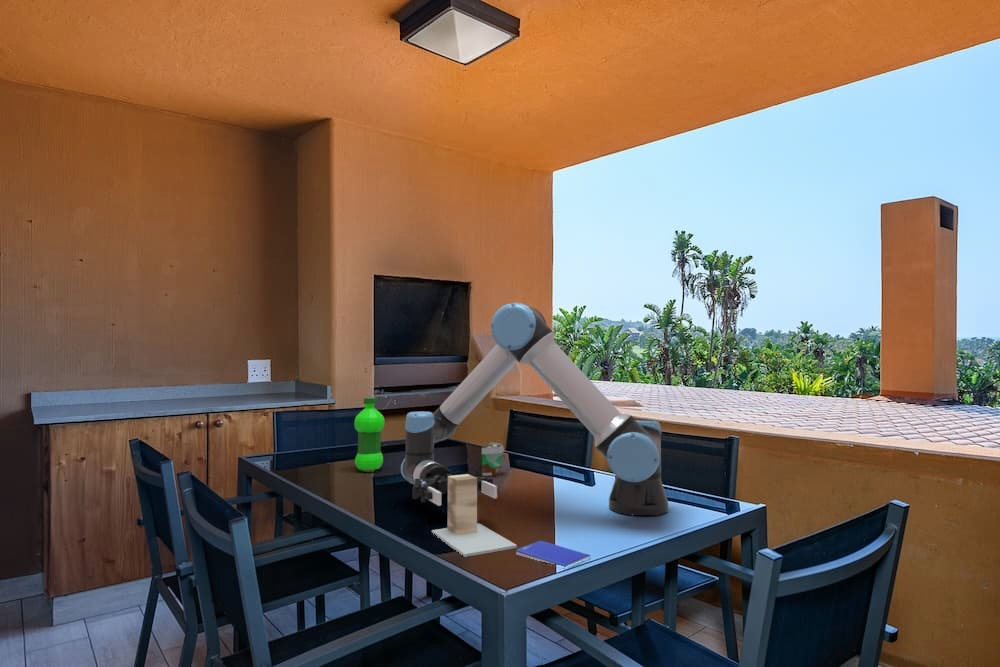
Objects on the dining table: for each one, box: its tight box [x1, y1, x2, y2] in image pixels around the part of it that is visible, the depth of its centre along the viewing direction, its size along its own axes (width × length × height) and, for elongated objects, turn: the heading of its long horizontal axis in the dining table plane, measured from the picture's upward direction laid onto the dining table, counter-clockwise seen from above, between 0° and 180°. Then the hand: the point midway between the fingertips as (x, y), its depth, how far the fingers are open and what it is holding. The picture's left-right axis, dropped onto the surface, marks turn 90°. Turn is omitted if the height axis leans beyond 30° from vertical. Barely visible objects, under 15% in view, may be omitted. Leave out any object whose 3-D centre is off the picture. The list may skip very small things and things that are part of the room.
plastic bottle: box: [353, 397, 385, 470], centre depth 205 cm, size 10×10×25 cm
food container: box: [481, 442, 505, 478], centre depth 198 cm, size 12×6×10 cm, turn 168°
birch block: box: [447, 473, 478, 535], centre depth 134 cm, size 5×5×12 cm
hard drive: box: [515, 540, 591, 567], centre depth 119 cm, size 2×8×12 cm
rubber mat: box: [431, 522, 518, 558], centre depth 129 cm, size 18×12×1 cm, turn 28°
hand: (468, 495), depth 132 cm, fingers open, 13 cm apart
